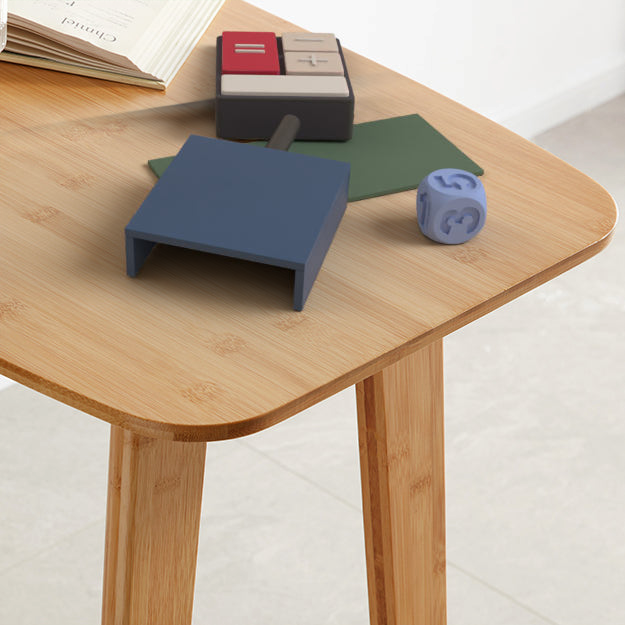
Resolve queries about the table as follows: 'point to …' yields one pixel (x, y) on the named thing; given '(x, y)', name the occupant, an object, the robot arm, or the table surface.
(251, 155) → the dustpan
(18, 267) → the table surface
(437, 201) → the decorative dice
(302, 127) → the calculator
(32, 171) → the table surface
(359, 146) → the mat
